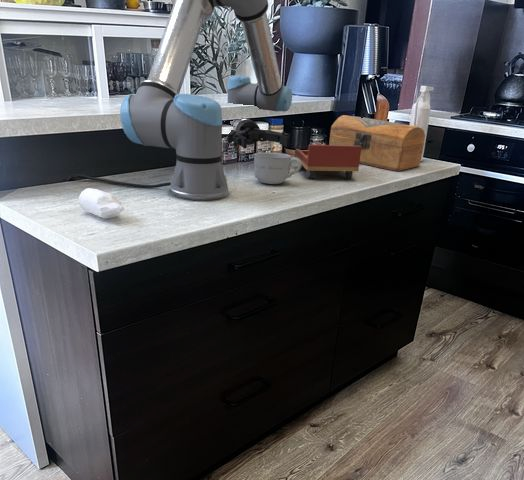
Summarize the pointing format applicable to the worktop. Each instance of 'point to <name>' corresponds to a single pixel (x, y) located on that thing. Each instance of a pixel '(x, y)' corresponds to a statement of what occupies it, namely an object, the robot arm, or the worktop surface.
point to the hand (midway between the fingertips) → (267, 143)
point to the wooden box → (380, 141)
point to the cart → (329, 159)
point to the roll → (100, 203)
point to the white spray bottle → (422, 111)
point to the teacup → (274, 167)
